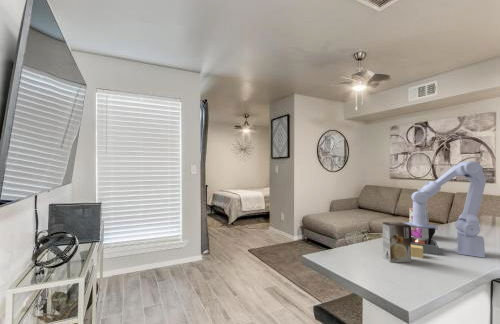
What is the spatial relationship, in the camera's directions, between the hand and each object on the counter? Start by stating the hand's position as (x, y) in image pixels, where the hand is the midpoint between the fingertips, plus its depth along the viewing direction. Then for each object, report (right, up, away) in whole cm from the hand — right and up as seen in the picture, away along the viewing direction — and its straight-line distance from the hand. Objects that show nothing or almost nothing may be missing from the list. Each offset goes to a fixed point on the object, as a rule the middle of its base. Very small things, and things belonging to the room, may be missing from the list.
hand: (419, 242), depth 125 cm
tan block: (-8, -3, -10) cm, 14 cm away
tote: (0, -3, 0) cm, 3 cm away
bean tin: (0, -3, 0) cm, 3 cm away
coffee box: (-21, -3, -15) cm, 26 cm away
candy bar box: (+14, -4, +22) cm, 26 cm away
